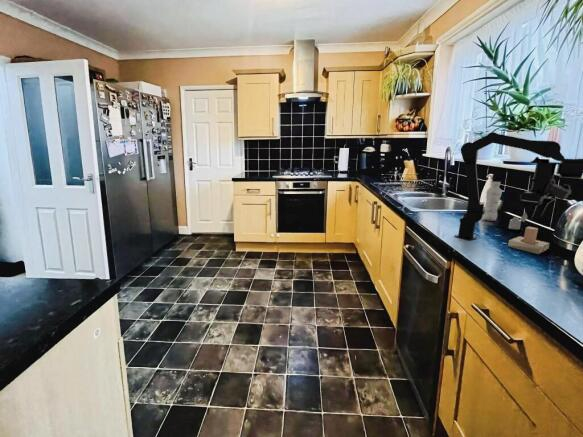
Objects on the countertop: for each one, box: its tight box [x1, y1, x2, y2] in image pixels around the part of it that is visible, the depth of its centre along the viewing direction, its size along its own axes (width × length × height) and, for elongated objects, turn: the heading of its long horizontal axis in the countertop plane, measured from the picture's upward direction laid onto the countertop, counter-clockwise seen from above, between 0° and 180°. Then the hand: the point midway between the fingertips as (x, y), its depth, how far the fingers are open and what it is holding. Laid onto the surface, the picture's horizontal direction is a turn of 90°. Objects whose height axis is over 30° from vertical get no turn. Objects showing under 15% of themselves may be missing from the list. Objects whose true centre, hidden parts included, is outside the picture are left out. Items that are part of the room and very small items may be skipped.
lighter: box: [508, 212, 528, 230], centre depth 149 cm, size 7×2×8 cm, turn 78°
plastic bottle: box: [482, 181, 503, 222], centre depth 163 cm, size 6×7×20 cm
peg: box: [523, 226, 539, 244], centre depth 123 cm, size 3×3×8 cm
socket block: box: [507, 236, 550, 255], centre depth 123 cm, size 10×10×2 cm
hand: (534, 217), depth 121 cm, fingers open, 9 cm apart
